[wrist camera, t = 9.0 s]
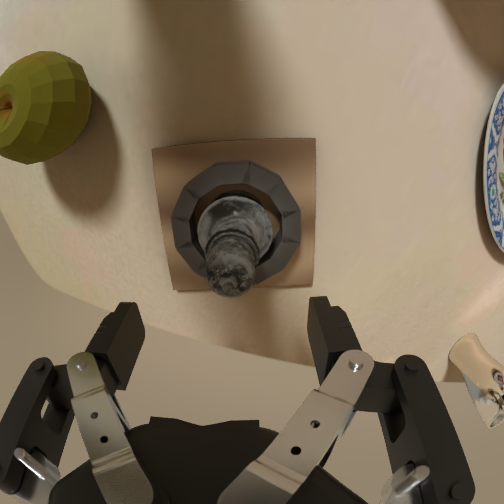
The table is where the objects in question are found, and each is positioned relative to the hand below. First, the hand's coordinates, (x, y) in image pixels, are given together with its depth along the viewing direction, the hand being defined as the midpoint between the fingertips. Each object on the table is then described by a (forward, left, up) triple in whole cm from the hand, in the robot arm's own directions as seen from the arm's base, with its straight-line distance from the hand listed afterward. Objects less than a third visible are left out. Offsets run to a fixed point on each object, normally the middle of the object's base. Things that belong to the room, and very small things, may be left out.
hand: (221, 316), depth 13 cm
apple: (-13, -16, -15) cm, 25 cm away
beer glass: (+22, +34, -15) cm, 43 cm away
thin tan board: (0, 0, -15) cm, 15 cm away
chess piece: (0, 0, -14) cm, 14 cm away
